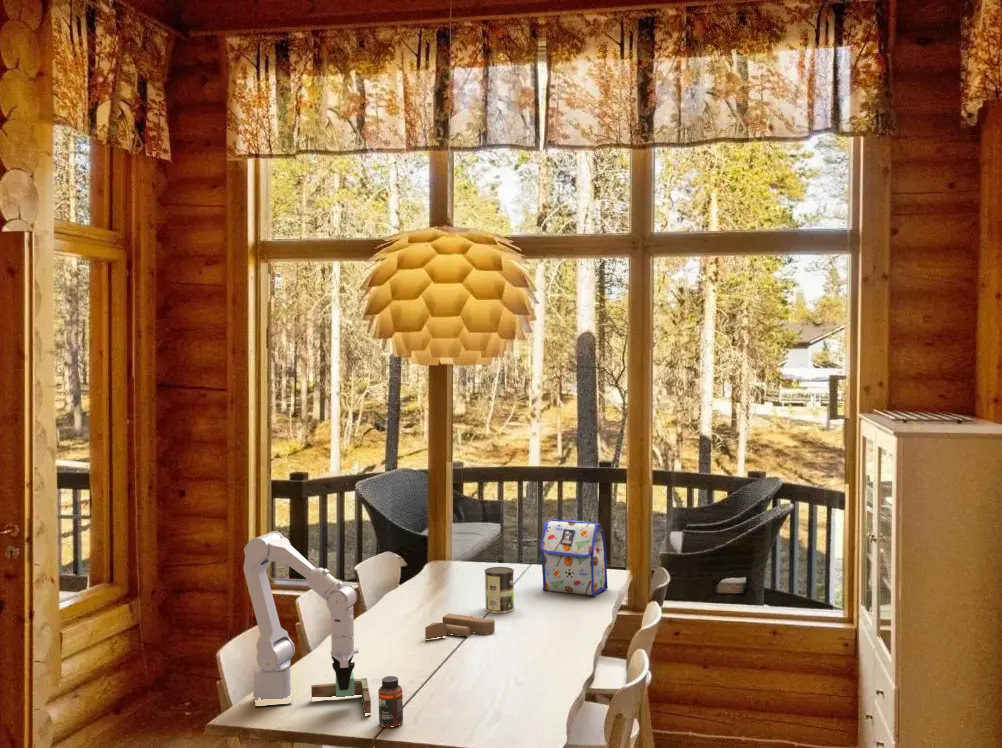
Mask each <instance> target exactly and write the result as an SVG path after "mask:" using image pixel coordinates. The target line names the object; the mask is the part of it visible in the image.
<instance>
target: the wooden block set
mask: <svg viewBox="0 0 1002 748" xmlns="http://www.w3.org/2000/svg"><path fill="white" fill-rule="evenodd" d="M495 622H496V620H495V619H493V618H492V619H491V618H490V619H489V618H482V617H473V616H471V615H465V614H464V615H463V614H457V613H447V614H445V615H444V616H442V622H432V623H430V624H429V625H427V626H425V627H424V630H425V634H424V635H425V636H424V637H425V639H431V638H437V637H443V636H447V637H448V635H447V634H453V635H452V636H454V635H459V636H458V637H462V636H466V637H465V638H468V637H467V636H469V637H470V634H471V633H470V632H475V633H474V634H477V633H482V634H481V635H487V634H486V633H491V634H493V633H494V632H495V631H496V630H495V629H496V628H495V627H496V626H495V625H496V624H495ZM425 639H424V640H425Z"/></svg>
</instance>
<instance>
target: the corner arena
mask: <svg viewBox="0 0 1002 748" xmlns="http://www.w3.org/2000/svg"><path fill="white" fill-rule="evenodd" d="M310 693H311V698H312V697H332V696H336V682H335V683H333V682H332V683H322V684H313V685H311V692H310ZM354 695H362V698H361V701H362V700H363V703H362V706H363V705H364V709H363V712H364V711H365V713H371V712H372V706H371V705H372V703H371V702H372V701H371V694H370V688H369V684H368V678H367V677H365V678H354ZM371 714H372V713H371Z"/></svg>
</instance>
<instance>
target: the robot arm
mask: <svg viewBox="0 0 1002 748" xmlns="http://www.w3.org/2000/svg"><path fill="white" fill-rule="evenodd" d="M243 552H244V563H243V573H244V576H245V577H244V578H245V582H246V585H247V587H248V588H247V589H248V592H249V595H250V601H251V604H252V608H253V612H254V615H255V619H256V620H255V621H256V623H257V627H258V630H259V636H258V640H257V642H256V644H255V645H256V651H257V652H256V662H257V665H258V666H259V668H254V671H253V672H254V675H253V677H254V679H253V685H254V686H253V687H254V689H253V698H254V697H255V698H254V701H255V700H258V698H259V697H260V698H261V700H263V699H283V698H287V697H288V696H290V694H291V692H292V690H291V687H292V686H291V662H292V660H291V659H292V658H293V657H294V655H295V652H296V647H295V644H294V642H293V640H292V639H291V638H290V636H289V633H288V631H287V630H285V629H284V628H283V627H282V625H281V623H280V619H279V615H278V610H277V607H276V604H275V600H274V596H273V592H272V589H271V583H270V581H269V578H268V573H267V569H268V568H269V566H270V565H271V563H272V562H283V563H284V564H285V565H287V566H289V567H290V568H291V569H293V570H295V571H296V572H297V573H298V574H300V575H301V576H303V577H304V578H305V579H306V584H307V586H308V587H309V589H311V590H312V591H314V592H315V593H316V594H317V595H318V596H320V597H321V598H322V599H324V600H325V601H326V607H327V608H328V610H329V612H330V627H331V629H330V630H331V632H330V635H331V637H330V639H331V643H330V644H331V651H330V657H331V659H332V661H333V662H331V665H332V666H331V667H332V669H333V670H334V673H335V676H336V675H337V680H338V685H339V689H340V691H341V690H348V688H349V682H350V676H351V673H352V672H353V670H354V668H355V665H356V664H355V662H352V660H353V658H354V655H356V654H359V651H360V650H359V648H356V647H355V633H354V632H355V628H354V627H355V624H354V622H355V621H354V616H355V615H354V605H355V604H356V602H357V600H358V594H357V591H356V589H355V588H354V587H353V585H351V584H348V583H344V582H342V581H341V580H340V581H339V579H337V578H335V577H334V576H333V575H332V574H331V573H330V570H329V569H327V568H323V567H315V566H314V565H313V564H311V563H310V562H309V560H307V559H306V558H305V557H304V556H303V555H302V554H301V553H300V552H299V551H297V549H296V548H294V547H293V546H292V544H291V542H290V540H289V539H288V538H287V537H285V536H284V535H282V534H281V533H280V532H279V531H275V530H272V531H269V532H268V533H266V534H262V535H260V536H258V537H257V536H256V537H253V538H251V539H250V540H249V541H248V542H247V543H246V545H245V547H244V548H243Z"/></svg>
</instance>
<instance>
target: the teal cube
mask: <svg viewBox="0 0 1002 748" xmlns="http://www.w3.org/2000/svg"><path fill="white" fill-rule="evenodd" d="M354 679H355V675H354V671H352V673H351V676H350V682H349V688H348V690H341V691H340V689H339V685H338V680H337V675H336V674H335V683H336V697H345V696H354Z"/></svg>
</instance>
